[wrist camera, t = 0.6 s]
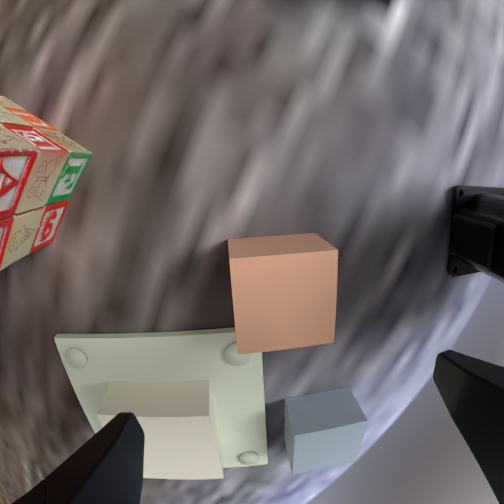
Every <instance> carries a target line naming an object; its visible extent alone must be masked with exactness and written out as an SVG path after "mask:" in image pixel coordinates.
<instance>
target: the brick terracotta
mask: <svg viewBox="0 0 504 504" xmlns="http://www.w3.org/2000/svg"><path fill="white" fill-rule="evenodd" d="M228 251H229V263H230V275H231V287H232V299H233V310H234V321H235V331H236V342H237V352H238V354H248V353H258V352H267V351H276V350H285V349H293V348H300V347H308V346H315V345H321V344H328V343H334V334H335V318H336V300H337V275H338V249H336V248H335V247H334V246H332V245H331V244H329V243H328V242H327V241H325V240H324V239H323V238H321V237H320V236H318V235H317V234H316V233H305V234H291V235H278V236H264V237H251V238H238V239H228Z"/></svg>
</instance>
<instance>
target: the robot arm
mask: <svg viewBox="0 0 504 504" xmlns="http://www.w3.org/2000/svg"><path fill="white" fill-rule="evenodd" d="M459 191H460V195H459ZM453 268H454V270H453ZM477 272H483V273H485V274H487V275H489V276H491V277H493V278H495V279H497V280H499V281H501V282H503V283H504V188H496V187H480V186H459V185H457V186H455V187H454V189H453V203H452V223H451V237H450V248H449V258H448V266H447V273H448V274H449V275H451V276H452V277H455V276H461V275H466V274H471V273H477ZM433 378H434V382H435V384H436V386H437V388H438V390H439V392H440V394H441V396H442V398H443V401H444V403H445V405H446V407H447V409H448V411H449V413H450V415H451V417H452V419H453V421H454V422H455V424H456V426H457V428H458V429H459V431H460V433H461V434H462V436H463V438H464V439H465V441H466V443H467V445H468V446H469V448H470V450H471V452H472V453H473V455H474V457H475V459H476V460H477V462H478V464H479V466H480V468H481V469H482V471H483V473H484V475H485V477H486V479H487V481H488V482H489V484H490V486H491V488H492V490H493V492H494V494H495V496H496V498H497V500H498V502H499V504H504V367H501V366H498V365H494V364H492V363H489V362H485V361H482V360H479V359H476V358H473V357H470V356H467V355H464V354H461V353H458V352H455V351H452V350H447V351H444V352H442V353H439V354H438V356H437V358H436V363H435V368H434V373H433ZM144 443H145V435H144V431H143V429H142V427H141V425H140V423H139V422H138V420H137V418H136V416H135V414H134V413H132V412H120V413H118V414H117V415H116V416H115V417H114V418H113V419H112V420H110V421H109V422H108V423H107V424H106V425H105V426H104V427H103V428H102V429H100V430H99V431H98V432H97V433H96V434H95V435H94V436H93V437H91V438H90V439H89V440H88V441H87V442H86V443H85V444H84V445H82V446H81V447H80V448H79V449H78V450H77V451H76V452H75V453H73V454H72V455H71V456H70V457H69V458H68V459H67V460H65V461H64V462H63V463H62V464H61V465H60V466H58V467H57V468H56V469H55V470H54V471H53V472H51V473H50V474H49V475H48V476H47V477H46V478H45V480H42V481H41V482H40V483H38V484H37V485H36V486H35V487H34V488H32V489H31V490H30V491H29V492H27V493H26V494H25V495H23V496H22V497H21V498H19V499H18V500H16V501H15V502H13V503H12V504H140V498H141V491H142V484H143V468H144Z"/></svg>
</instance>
